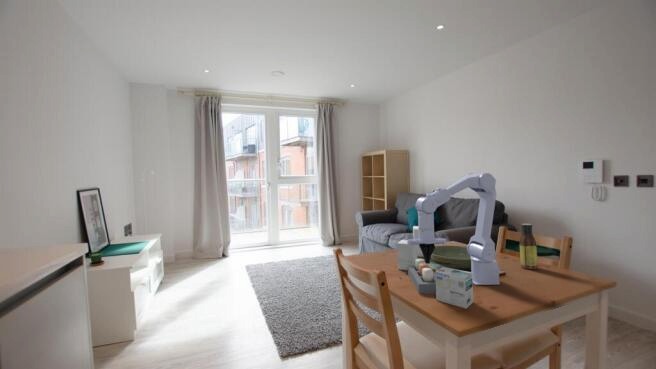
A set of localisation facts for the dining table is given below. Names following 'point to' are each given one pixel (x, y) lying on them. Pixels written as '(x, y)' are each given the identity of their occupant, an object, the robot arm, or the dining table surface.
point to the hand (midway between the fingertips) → (427, 262)
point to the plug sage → (419, 263)
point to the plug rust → (421, 266)
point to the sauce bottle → (528, 248)
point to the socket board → (418, 281)
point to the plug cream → (427, 275)
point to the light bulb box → (454, 287)
